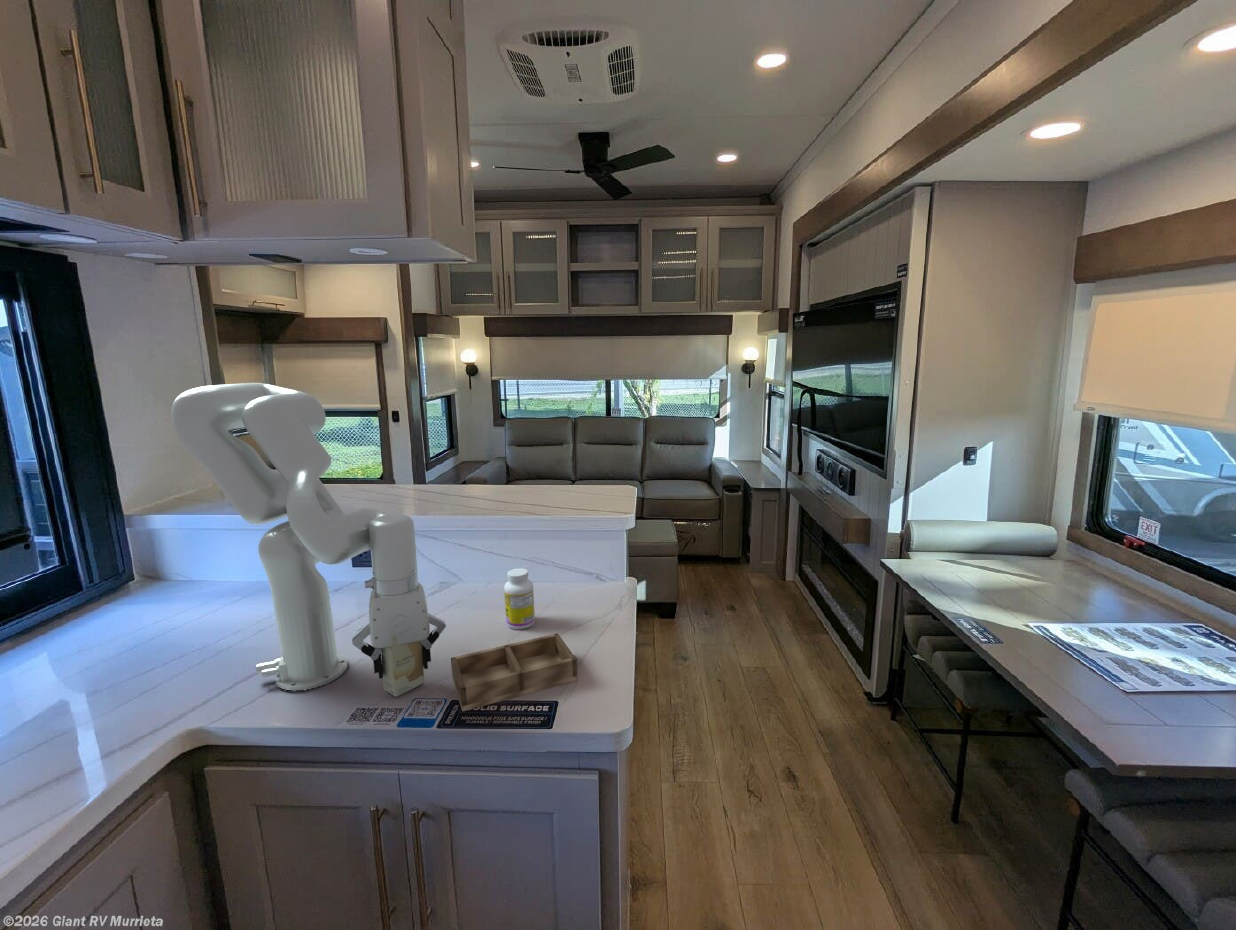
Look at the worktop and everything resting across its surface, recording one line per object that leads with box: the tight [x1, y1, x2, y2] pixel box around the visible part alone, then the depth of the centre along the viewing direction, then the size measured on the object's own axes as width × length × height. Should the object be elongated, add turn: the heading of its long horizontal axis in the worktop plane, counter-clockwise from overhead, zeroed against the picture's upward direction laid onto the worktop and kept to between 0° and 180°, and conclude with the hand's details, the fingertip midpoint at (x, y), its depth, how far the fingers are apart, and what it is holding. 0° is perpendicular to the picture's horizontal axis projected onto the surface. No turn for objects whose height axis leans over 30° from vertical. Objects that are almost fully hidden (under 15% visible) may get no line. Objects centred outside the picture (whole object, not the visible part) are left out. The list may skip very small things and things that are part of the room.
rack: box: [450, 633, 578, 712], centre depth 109 cm, size 22×11×4 cm, turn 114°
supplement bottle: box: [503, 568, 536, 630], centre depth 131 cm, size 7×7×13 cm
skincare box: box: [381, 635, 425, 697], centre depth 106 cm, size 6×4×12 cm
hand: (403, 669), depth 107 cm, fingers closed on skincare box, 7 cm apart
